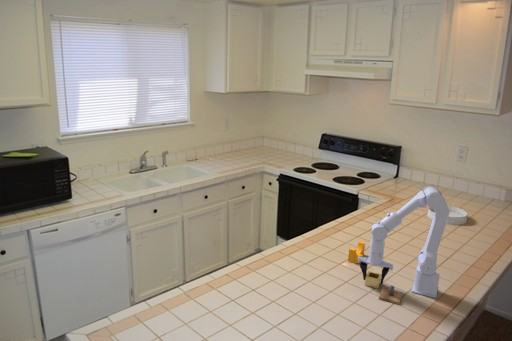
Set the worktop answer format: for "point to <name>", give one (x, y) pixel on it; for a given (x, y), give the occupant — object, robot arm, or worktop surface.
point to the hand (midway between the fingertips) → (373, 281)
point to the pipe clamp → (356, 253)
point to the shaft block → (390, 295)
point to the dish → (452, 215)
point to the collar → (373, 279)
